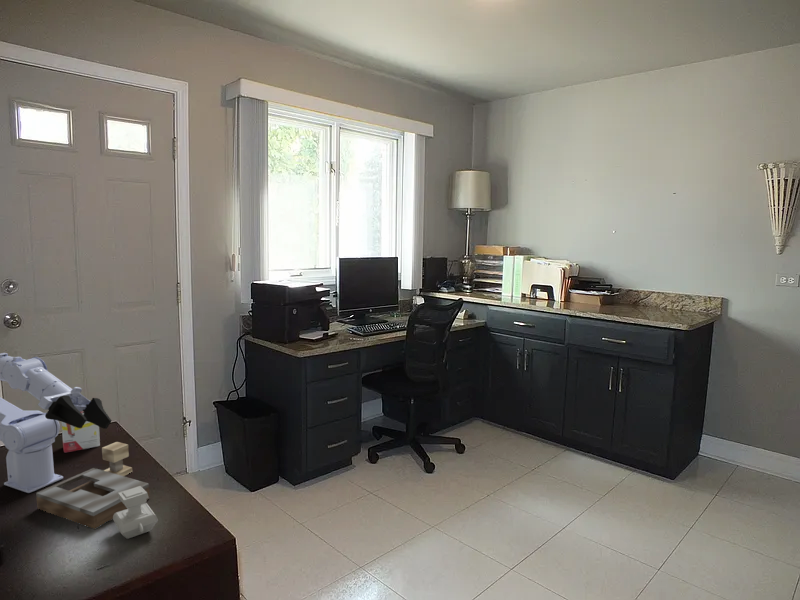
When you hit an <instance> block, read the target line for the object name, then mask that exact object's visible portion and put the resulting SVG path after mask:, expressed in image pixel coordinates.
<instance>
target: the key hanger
mask: <svg viewBox="0 0 800 600" xmlns="http://www.w3.org/2000/svg"><path fill="white" fill-rule="evenodd" d="M129 456H130V453H129V444H127V443H123V442H120V441H115V442H113V443H110V444H108V445H105V446H103V447H101V457H102V461H106V462H109V467H108V468H106V469H103V470H104V471H107V472H110V473H114V474H117V475H121V476H124V477H126V476H127V475H129V473H130V474H131V472H132V473H133V467H131V466H128V465H125V464H124V461H123V459H124V460H125V459H126V458H128V457H129Z"/></svg>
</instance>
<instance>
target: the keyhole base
mask: <svg viewBox="0 0 800 600" xmlns="http://www.w3.org/2000/svg"><path fill="white" fill-rule="evenodd" d="M104 470H105V469H100V468H99V469H98V468H97V467H92V468H89V469H88V470H85V471H83V472H81V473H78V474H76V475H74V476H71V477H68V478H66V479H64V480H62V481H61V482H60V481H59V482H58V483H55V484H53V485H52V486H49V487H46V488H45V489H42V490H39V491H37V492H35V497H36V509H37V510H39V509H40V511H42V510H43V512H45V511H46V512H45V513H48V514H50V513H51V515H53V514H54V516H56V515H57V516H56V517H59V518H62V517H63V518H62V519H64V518H67V519H69V520H68V521H70V520H72V521H71V522H73V521H74V522H73V523H76V522H77V523H76V524H78V523H80V524H79V525H81V524H82V526H84V525H86V526H85V527H87V526H88V528H89V527H91V528H90V529H92V528H94V529H93V530H96V529H98V528H100V527H101V526H103V525H105V524H106V523H105V522H107V521H109V520H110V521H112V520H113V515H114V514H115V513H116V512H119V511H122V510H125V509H127V508H126V506H125V505H124V504H123V502H122V501H121V500H120V499H119V496H118V493H119V492H122V491H125V490H129V489H132V488H135V487H138V486H141V487H142V488H143V489H144V490H145V491H146V492H147V493H148V496H149V498H148V499H149V500H150V497H151V496H150V483H148V482H145V481H141V480H138V479H134V478H131V477H127V476H121V475H117V474H114V473H110V472H107V471H104ZM81 479H84V480H86V481H87V480H88V481H87V482H85V483H83V484H81V485H78V486H77V487H74V488H72V489H70V490H68V489H64V487H66V486H68V485H71V484H72V483H75V482H77V481H79V480H81ZM148 499H146V500H147V501H148ZM67 519H66V520H67ZM111 519H112V520H111ZM110 521H109V522H110ZM104 523H105V524H104ZM107 523H108V522H107ZM102 524H103V525H102ZM100 525H101V526H100ZM99 526H100V527H99ZM97 527H98V528H97ZM95 528H96V529H95Z"/></svg>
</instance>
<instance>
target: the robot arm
mask: <svg viewBox="0 0 800 600" xmlns="http://www.w3.org/2000/svg"><path fill="white" fill-rule="evenodd" d="M0 381H2V382H7V384H8V385H9V388H11V389H13V390H18V389H19V390H21V391H22V392H27V393H29V394H30V395H31V396H32V397H33V398H35V399H36V400H38V401H39V402H38V404H37V406H38V407H39V408H41V409H43V410H44V411H45V410H46V411H47V410H48V411H47V412H42V411H41V410H38V409H36V410H34V409H33V410H26V409H25V410H24V409H22V408H20V407H18V406H16V405H14V404H13V403H11V402H9V401H7V400H6V399H5V398H2V397H1V396H0V442H1V443H3V445H4V447H5V448H6V449H7V450H8V451H7V454H6V457H5V461H6V470H7V481H5V482H3V486H7V487H10V488H12V489H15V490H18V491H21V492H24V493H27V494H30V493H33V492H35V491H38V490H40V489H42V488H44V487H46V486H49V485H52V484H54V483H56V482H58V481H61V480H63V479H64V476H63V475H61V474H57V473H55V468H54V465H55V464H54V454H53V443H55V442H56V437H57V436H59V433H60V430H61V427H60V426H61V425H60V423H62V422H64V423H67V424H69V425H72V426H74V427H77V428H82V427H83V425H84V424H85V422H86V421H88V422H91V423H93V424H95V425H97V426H99V428H101V429H105V430H106V429H108V427H109V426H110V424H111V423H112V419H111V417H110V416H109V415H108V413H107V412H106V410H105V409H104V406H103V403H102V402H103V401H102V400H101V399H100V398H98V397H92V398H91V399H88V398H87V397H86V396H85V395H83V394H82V393H81V392H82V390H83V388H81V387H80V386H74V387H73V388H72V387H70V386H69V384H66V383H64V382H63V380H61V379H60V378H58V377H57V376H55V374H53V373H51V372H50V371H49V370H48V366H47V363H46V362H45V361H44V360H43V359H42V358H41V357H38V356H34V357H30V358H28V359H24V358H22V356H11V355H9V353H7V352H1V353H0ZM81 411H84V412H83V413H84V415H83V414H82V413H81Z"/></svg>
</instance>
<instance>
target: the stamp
mask: <svg viewBox="0 0 800 600" xmlns="http://www.w3.org/2000/svg"><path fill="white" fill-rule="evenodd" d="M118 496H119V499H120V500H121V501H122V502H123V504H124V505H125V506H126V508H127V509H125V510H122V511H119V512H116V513H115V514H114V515H113V519H112V521H113V522H114V524H115V525H116V527H117V529H118V531H119V532H120V534H121V535H122V537H124V538H126V540H128V539H131V538H133V537H136V536H139V535H142V534H145V533H147V532H148V533H149V532H150V531H152V529H154V527H155V526H156V525H157V523H158V522H159V519H158V517H157V515H156V514H155V512H154V511H153V509H152V508H151V507H150V506H149V504H148V503H147V501H148V500H146V499H148V498H149V496H150V495H149V496H148V493H147V492H146V491H145V490H144V489H143V488H142V487H141V486H138V487H135V488H132V489H129V490H125V491H122V492H119V493H118Z"/></svg>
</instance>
